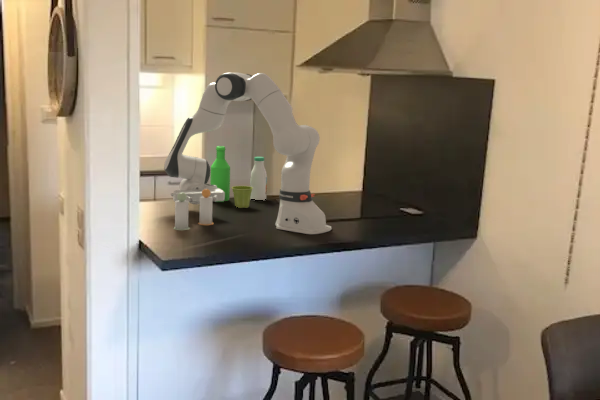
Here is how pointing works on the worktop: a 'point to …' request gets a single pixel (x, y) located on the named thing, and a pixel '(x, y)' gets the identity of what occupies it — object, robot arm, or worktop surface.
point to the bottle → (221, 173)
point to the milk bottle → (258, 180)
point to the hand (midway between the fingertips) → (202, 199)
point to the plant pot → (242, 196)
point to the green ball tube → (181, 212)
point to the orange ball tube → (205, 208)
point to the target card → (189, 228)
